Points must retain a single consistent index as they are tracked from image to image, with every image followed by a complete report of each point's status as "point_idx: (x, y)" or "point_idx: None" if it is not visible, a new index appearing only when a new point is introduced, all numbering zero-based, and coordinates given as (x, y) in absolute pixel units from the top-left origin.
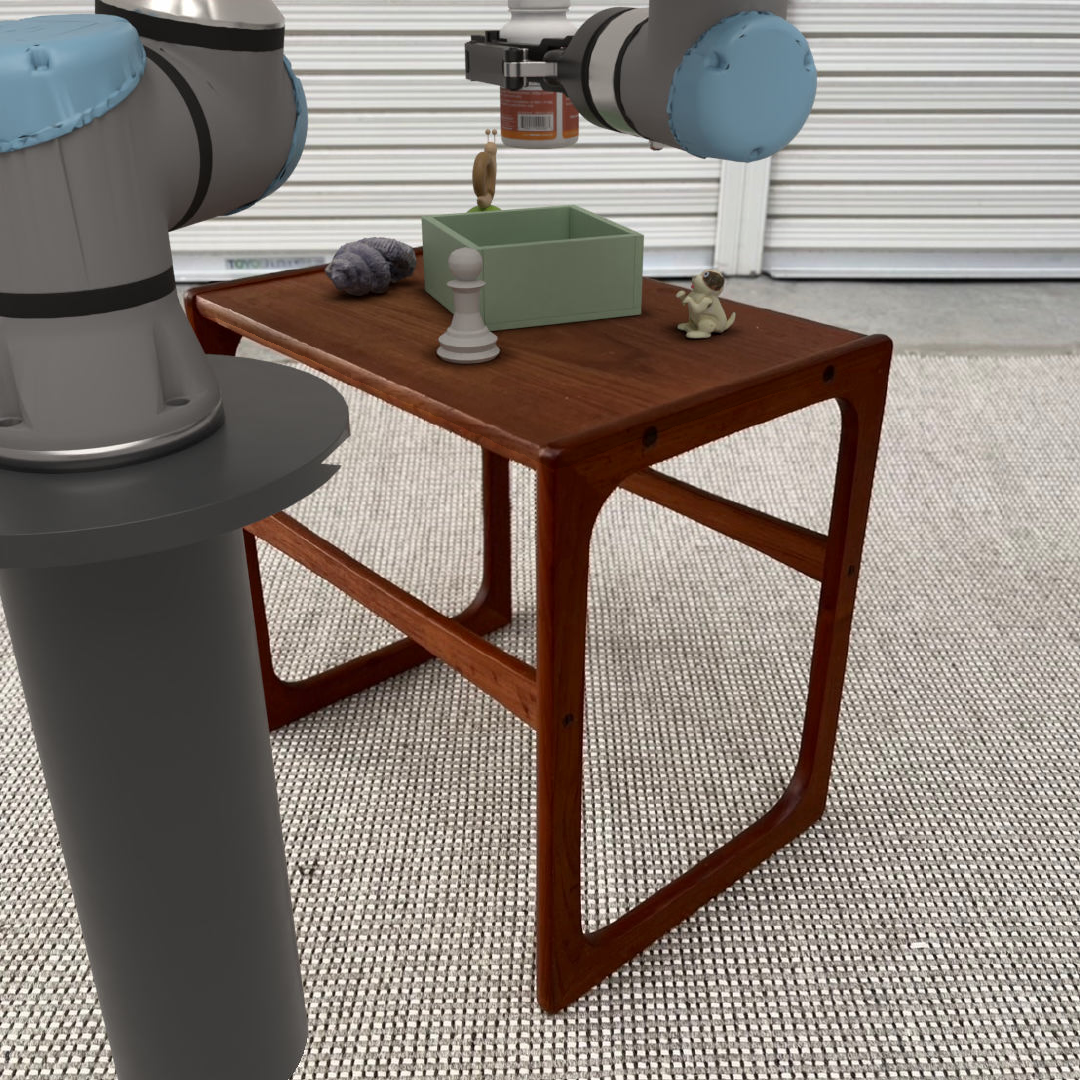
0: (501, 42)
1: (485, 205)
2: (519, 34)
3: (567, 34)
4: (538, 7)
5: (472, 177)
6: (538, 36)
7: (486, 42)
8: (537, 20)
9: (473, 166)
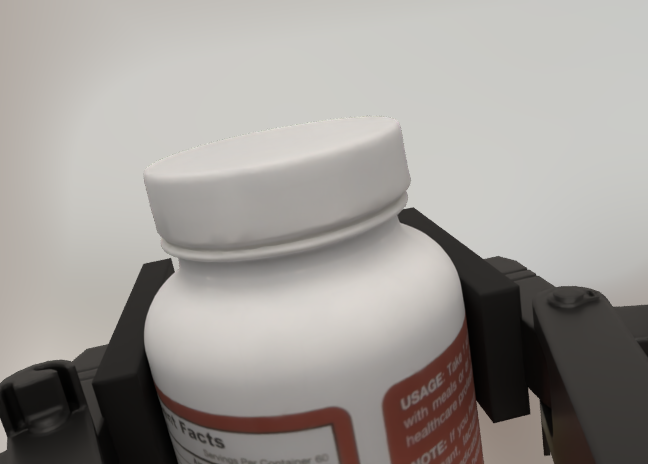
0: (51, 454)
1: None
2: (173, 364)
3: (400, 337)
4: (239, 242)
5: None
6: (250, 381)
7: (7, 437)
8: (251, 290)
9: None
